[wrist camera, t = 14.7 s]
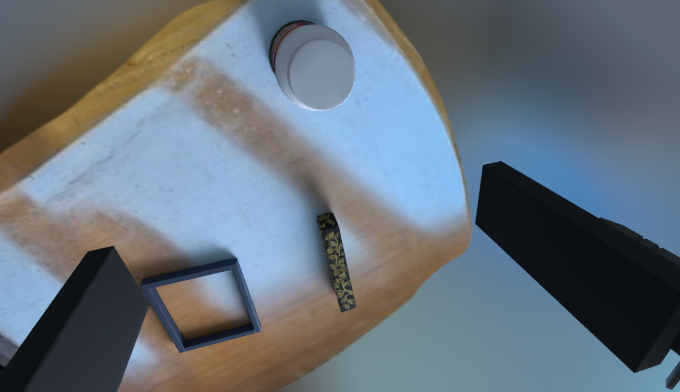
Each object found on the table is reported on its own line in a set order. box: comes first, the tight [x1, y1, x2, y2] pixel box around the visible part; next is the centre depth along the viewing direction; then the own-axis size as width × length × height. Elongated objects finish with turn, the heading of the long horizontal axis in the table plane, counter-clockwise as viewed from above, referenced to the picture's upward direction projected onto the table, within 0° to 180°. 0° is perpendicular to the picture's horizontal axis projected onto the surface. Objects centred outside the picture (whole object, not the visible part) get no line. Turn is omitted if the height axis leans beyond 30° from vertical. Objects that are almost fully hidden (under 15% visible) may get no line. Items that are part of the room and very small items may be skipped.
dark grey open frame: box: [140, 258, 261, 353], centre depth 43 cm, size 14×12×1 cm
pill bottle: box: [272, 22, 356, 111], centre depth 26 cm, size 6×6×11 cm
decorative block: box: [317, 213, 356, 312], centre depth 43 cm, size 15×2×4 cm, turn 10°
